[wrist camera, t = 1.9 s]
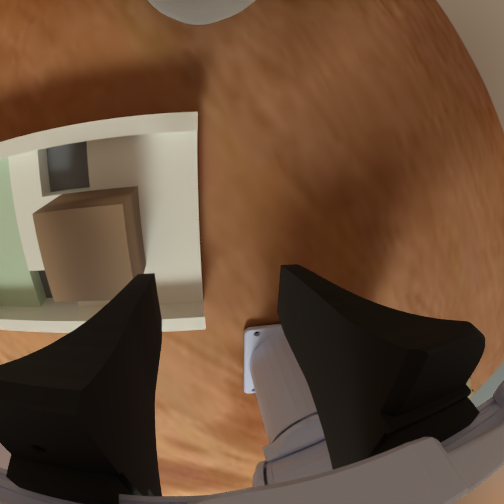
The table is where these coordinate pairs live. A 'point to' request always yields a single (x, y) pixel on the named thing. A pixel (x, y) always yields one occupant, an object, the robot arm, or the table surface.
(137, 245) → the block
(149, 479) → the robot arm
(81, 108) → the table surface
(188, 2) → the cup
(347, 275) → the table surface
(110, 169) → the tray
